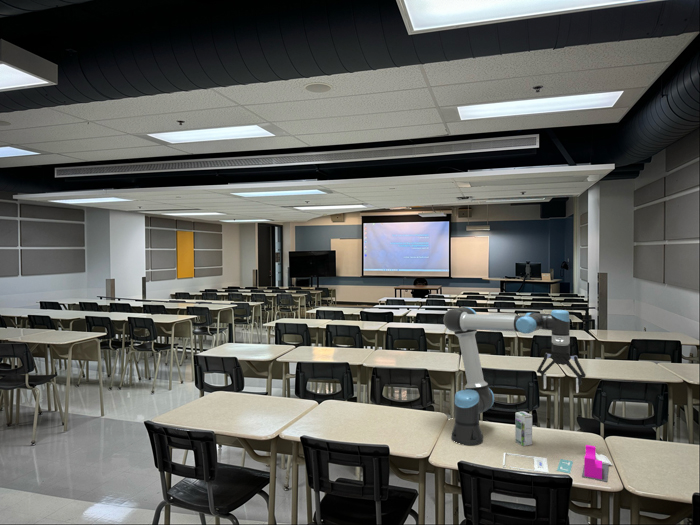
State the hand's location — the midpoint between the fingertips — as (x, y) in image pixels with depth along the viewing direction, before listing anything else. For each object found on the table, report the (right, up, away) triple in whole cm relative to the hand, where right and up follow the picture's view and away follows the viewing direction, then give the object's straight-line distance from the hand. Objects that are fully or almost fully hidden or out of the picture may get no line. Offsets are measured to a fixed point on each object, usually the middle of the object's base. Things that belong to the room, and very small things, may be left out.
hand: (560, 390), depth 212 cm
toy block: (+5, -29, -19) cm, 34 cm away
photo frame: (-20, -30, -10) cm, 37 cm away
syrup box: (-13, -29, +11) cm, 34 cm away
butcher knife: (+15, -28, -6) cm, 33 cm away
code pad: (-4, -29, -13) cm, 32 cm away
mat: (+6, -29, -18) cm, 35 cm away
